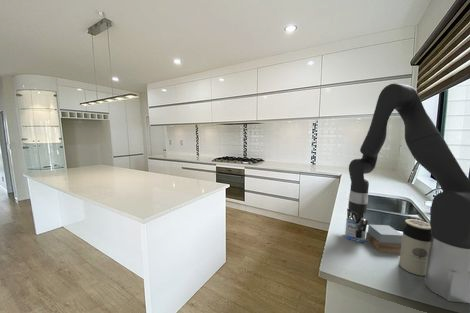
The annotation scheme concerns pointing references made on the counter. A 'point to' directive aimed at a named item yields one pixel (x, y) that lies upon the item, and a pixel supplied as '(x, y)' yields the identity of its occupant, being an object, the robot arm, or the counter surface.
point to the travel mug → (415, 246)
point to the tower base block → (383, 245)
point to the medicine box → (353, 231)
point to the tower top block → (385, 234)
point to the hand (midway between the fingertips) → (354, 234)
